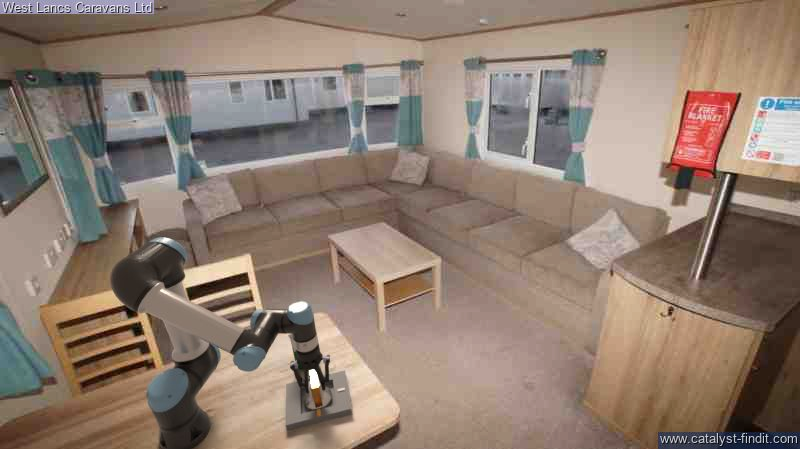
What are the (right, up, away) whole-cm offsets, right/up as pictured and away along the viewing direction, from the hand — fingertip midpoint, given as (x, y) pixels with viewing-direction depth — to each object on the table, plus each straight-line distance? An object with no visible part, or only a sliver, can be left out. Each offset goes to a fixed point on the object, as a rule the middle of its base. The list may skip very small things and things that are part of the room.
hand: (317, 396), depth 134 cm
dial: (0, -3, +3) cm, 4 cm away
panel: (0, -3, +3) cm, 4 cm away
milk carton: (-8, +4, +21) cm, 23 cm away
